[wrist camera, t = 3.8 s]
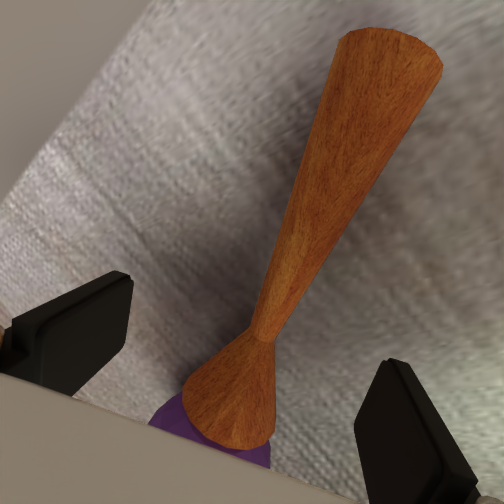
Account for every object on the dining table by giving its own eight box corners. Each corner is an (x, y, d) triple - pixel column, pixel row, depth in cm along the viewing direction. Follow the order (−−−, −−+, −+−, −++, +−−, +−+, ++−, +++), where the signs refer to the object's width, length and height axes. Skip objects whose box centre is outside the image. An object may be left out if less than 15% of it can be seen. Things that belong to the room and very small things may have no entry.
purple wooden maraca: (564, 68, 6) (240, 610, 11) (414, 120, 12) (242, 461, 17) (327, -59, 6) (87, 574, 10) (286, 59, 12) (144, 432, 16)
